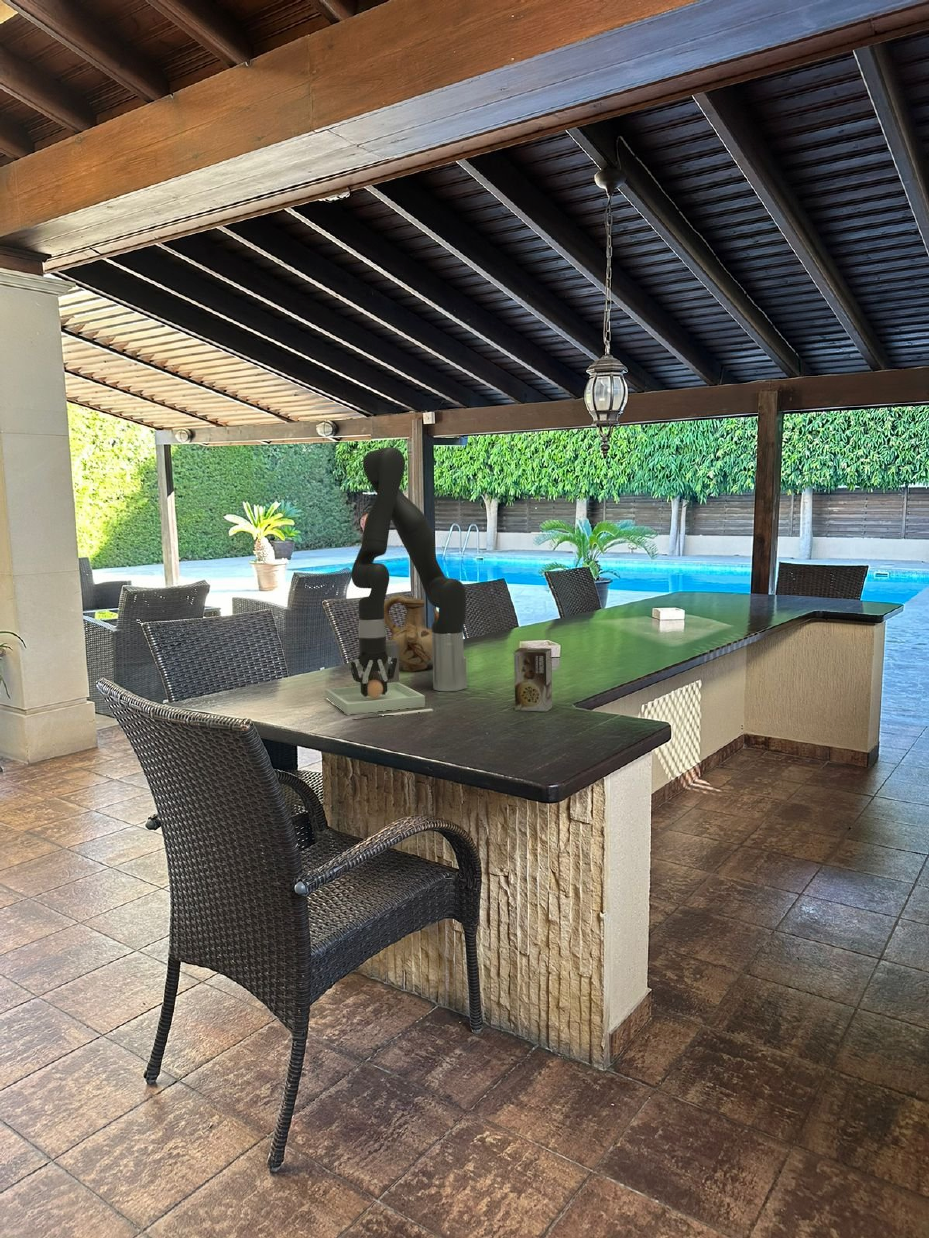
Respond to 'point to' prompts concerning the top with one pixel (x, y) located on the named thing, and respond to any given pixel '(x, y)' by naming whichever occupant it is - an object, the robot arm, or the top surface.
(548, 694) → the coffee box
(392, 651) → the pillar candle
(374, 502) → the robot arm
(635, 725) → the top surface
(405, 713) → the strip
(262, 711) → the top surface
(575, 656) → the top surface
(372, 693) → the ball
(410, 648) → the ceramic vessel
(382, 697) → the tray
